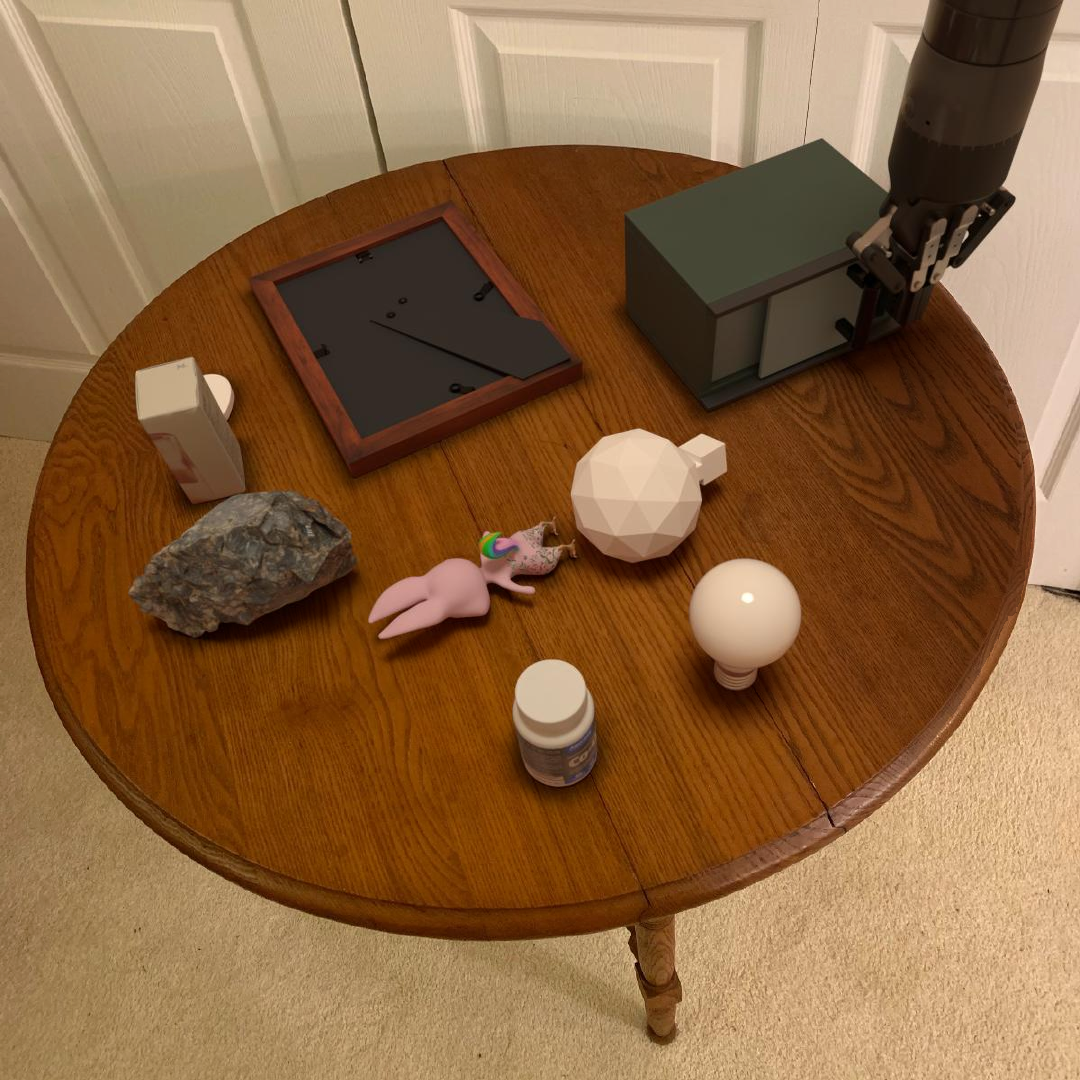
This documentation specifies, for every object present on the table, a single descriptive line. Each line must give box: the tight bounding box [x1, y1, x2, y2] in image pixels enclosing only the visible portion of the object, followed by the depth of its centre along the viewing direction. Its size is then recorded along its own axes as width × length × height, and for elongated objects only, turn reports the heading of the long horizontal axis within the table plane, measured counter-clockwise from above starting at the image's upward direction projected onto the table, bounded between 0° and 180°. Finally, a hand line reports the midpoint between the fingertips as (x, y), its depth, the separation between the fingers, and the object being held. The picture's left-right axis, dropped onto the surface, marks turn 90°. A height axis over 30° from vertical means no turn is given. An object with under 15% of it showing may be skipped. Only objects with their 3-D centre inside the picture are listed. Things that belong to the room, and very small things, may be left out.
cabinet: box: [623, 137, 902, 413], centre depth 78 cm, size 13×18×10 cm
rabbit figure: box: [367, 515, 578, 640], centre depth 67 cm, size 6×6×15 cm
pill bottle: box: [512, 658, 598, 788], centre depth 59 cm, size 5×5×8 cm
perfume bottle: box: [570, 428, 728, 564], centre depth 68 cm, size 9×9×12 cm
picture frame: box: [247, 199, 584, 479], centre depth 84 cm, size 20×2×25 cm
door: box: [758, 260, 882, 378], centre depth 74 cm, size 4×9×8 cm, turn 116°
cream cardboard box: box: [134, 356, 247, 505], centre depth 73 cm, size 5×4×10 cm
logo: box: [203, 373, 235, 421], centre depth 82 cm, size 6×1×8 cm
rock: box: [127, 489, 358, 639], centre depth 66 cm, size 14×10×10 cm
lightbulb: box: [688, 557, 803, 692], centre depth 59 cm, size 6×6×11 cm
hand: (903, 316), depth 76 cm, fingers closed
